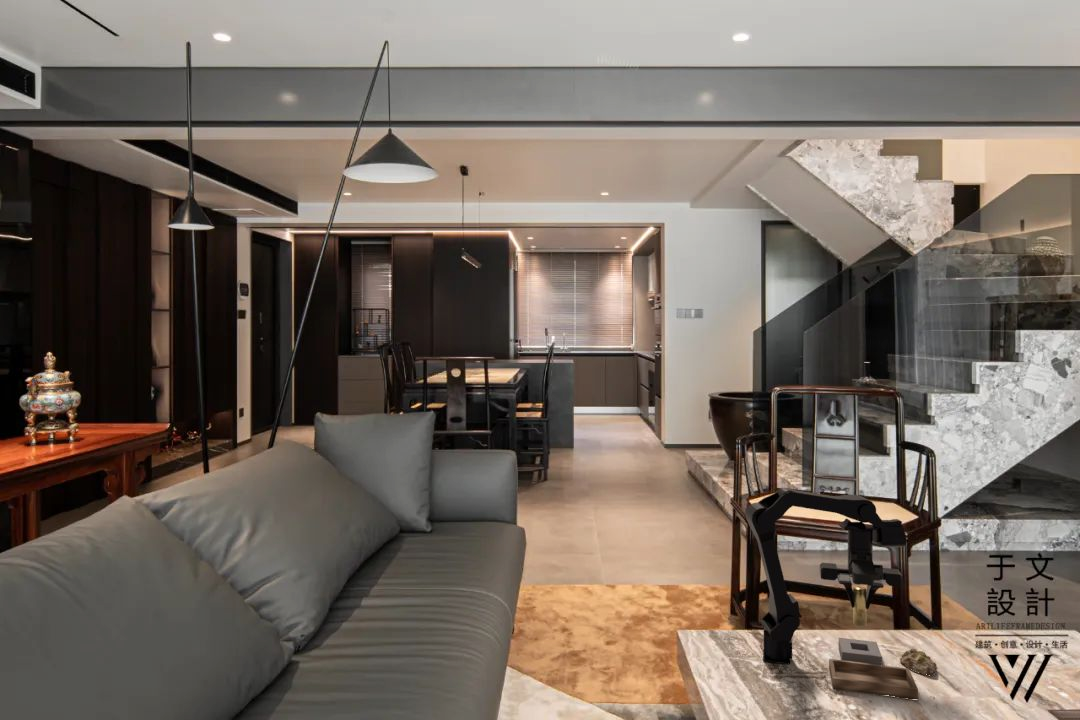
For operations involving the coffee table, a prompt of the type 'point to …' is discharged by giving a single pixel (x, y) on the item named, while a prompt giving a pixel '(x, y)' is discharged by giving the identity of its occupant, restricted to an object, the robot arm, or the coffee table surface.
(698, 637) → the coffee table surface
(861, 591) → the brass pin
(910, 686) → the walnut tray
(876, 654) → the block
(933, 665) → the mineral rock
